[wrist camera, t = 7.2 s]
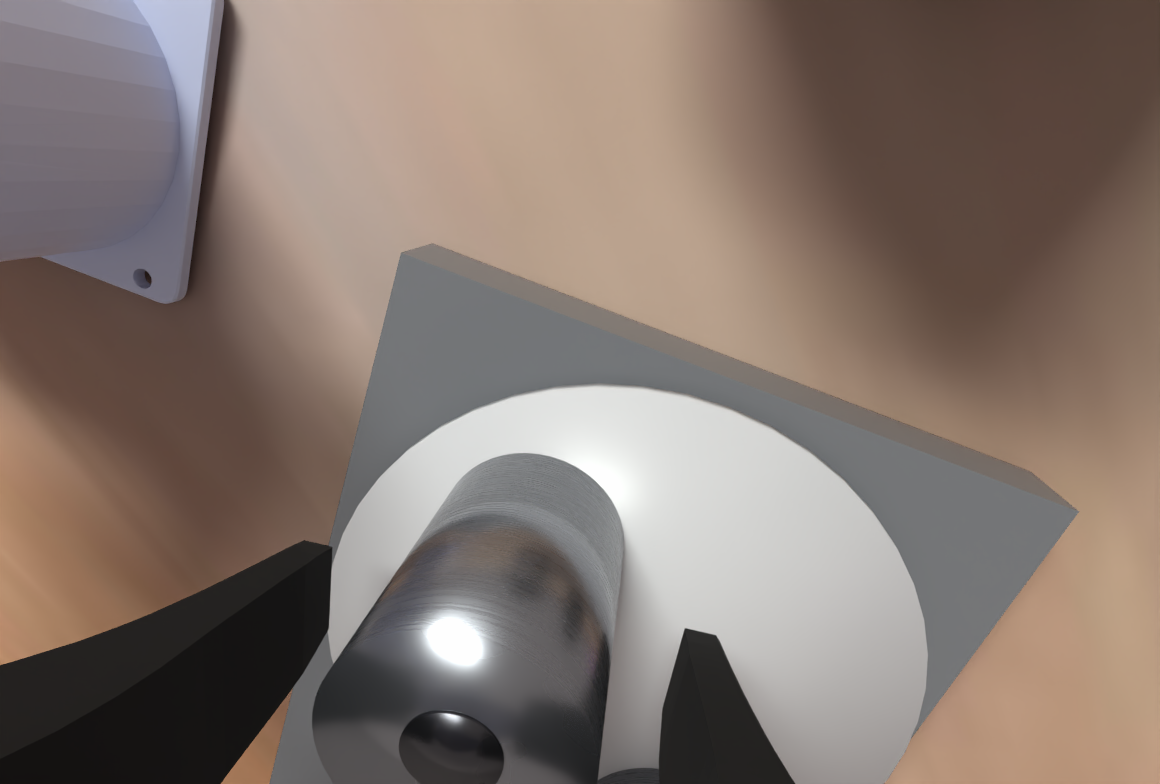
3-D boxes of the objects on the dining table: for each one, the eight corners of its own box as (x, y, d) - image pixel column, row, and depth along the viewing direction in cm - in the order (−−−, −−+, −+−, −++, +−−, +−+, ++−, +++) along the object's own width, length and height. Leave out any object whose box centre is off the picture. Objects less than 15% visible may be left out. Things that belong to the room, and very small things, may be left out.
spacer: (429, 586, 16) (298, 814, 10) (458, 430, 15) (324, 597, 9) (598, 635, 16) (559, 895, 10) (646, 483, 14) (633, 687, 9)
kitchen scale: (291, 776, 23) (194, 930, 18) (432, 243, 16) (335, 271, 11) (708, 939, 23) (718, 1137, 18) (1030, 471, 16) (1181, 595, 11)
